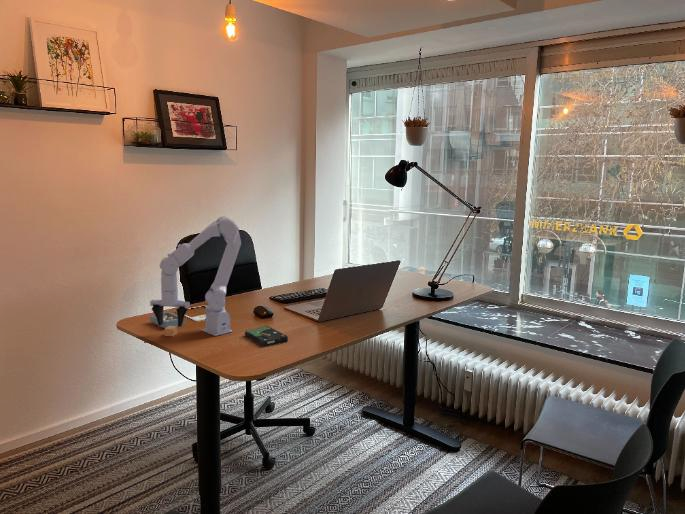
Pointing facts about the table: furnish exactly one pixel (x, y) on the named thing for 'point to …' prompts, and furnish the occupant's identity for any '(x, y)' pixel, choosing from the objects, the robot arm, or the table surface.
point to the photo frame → (197, 318)
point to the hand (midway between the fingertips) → (170, 325)
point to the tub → (166, 320)
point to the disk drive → (266, 336)
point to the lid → (170, 330)
